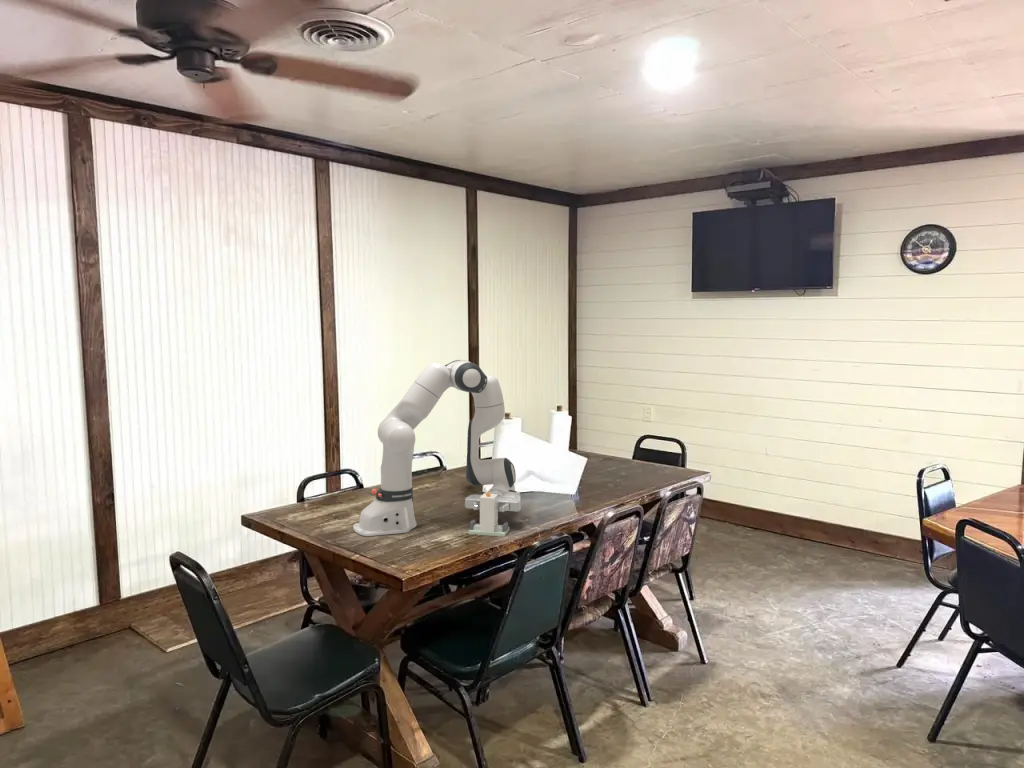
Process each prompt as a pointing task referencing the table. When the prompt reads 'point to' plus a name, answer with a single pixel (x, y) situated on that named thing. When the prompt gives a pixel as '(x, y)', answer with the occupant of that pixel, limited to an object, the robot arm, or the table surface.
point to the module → (488, 512)
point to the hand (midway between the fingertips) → (488, 508)
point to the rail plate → (498, 531)
